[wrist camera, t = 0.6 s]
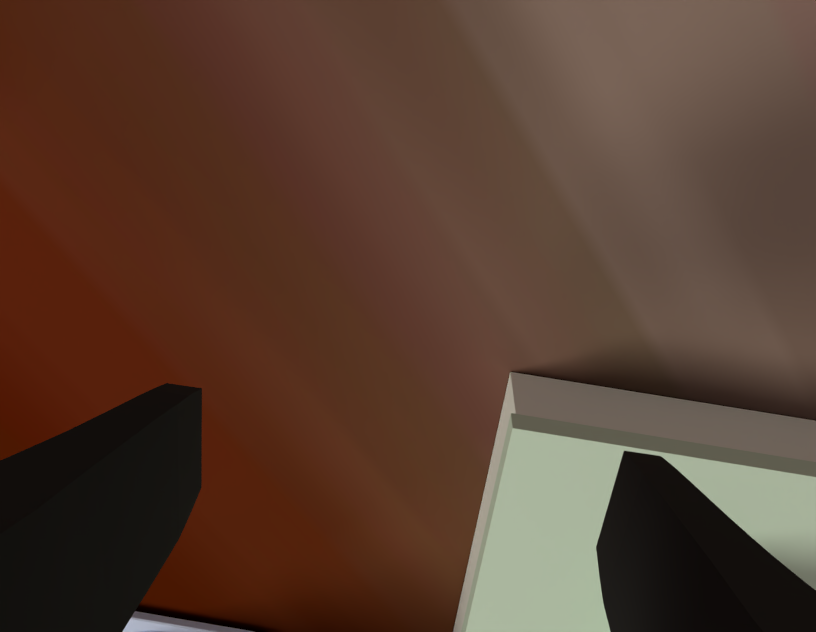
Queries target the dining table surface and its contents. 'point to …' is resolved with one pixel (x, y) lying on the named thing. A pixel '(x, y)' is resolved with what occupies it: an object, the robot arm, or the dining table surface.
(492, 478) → the box
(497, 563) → the lid
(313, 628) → the dining table surface
